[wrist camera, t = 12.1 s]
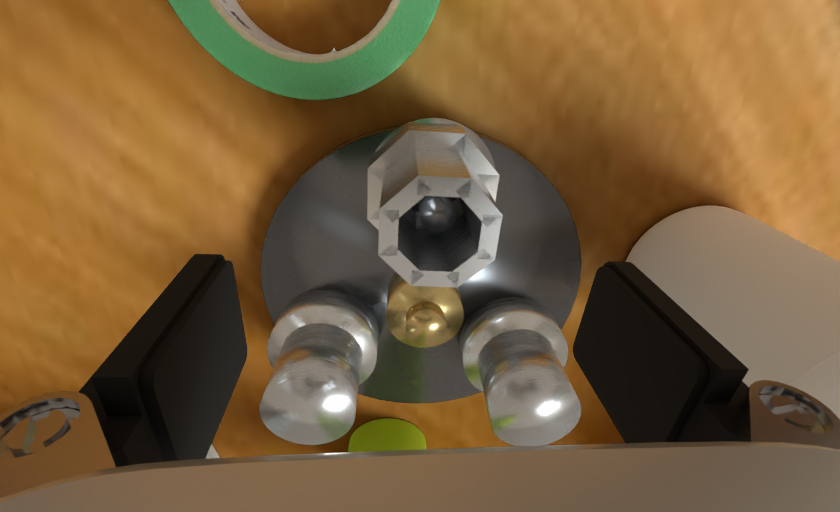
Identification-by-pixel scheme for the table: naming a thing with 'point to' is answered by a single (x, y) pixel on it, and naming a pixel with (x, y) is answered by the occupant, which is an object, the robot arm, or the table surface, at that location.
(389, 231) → the octagonal collar pipe
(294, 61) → the tape roll
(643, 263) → the pill bottle
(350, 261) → the carrier
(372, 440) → the soap dispenser
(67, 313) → the table surface
